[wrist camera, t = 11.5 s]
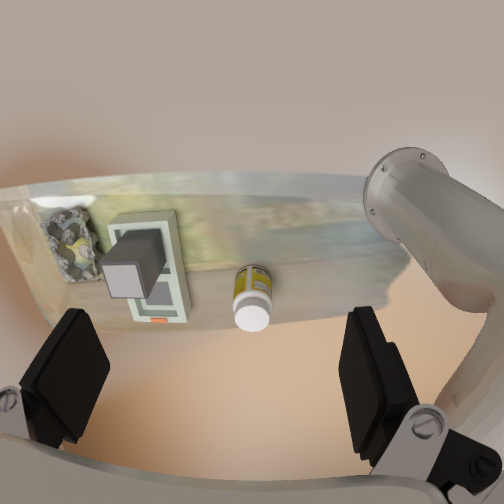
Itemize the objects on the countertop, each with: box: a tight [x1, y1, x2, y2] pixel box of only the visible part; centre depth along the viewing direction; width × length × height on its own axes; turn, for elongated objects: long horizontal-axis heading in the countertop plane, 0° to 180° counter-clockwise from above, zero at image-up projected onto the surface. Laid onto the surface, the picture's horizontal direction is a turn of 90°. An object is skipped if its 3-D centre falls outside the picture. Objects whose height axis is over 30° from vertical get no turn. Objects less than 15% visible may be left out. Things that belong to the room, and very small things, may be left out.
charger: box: [100, 229, 166, 299], centre depth 35 cm, size 5×5×8 cm
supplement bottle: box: [233, 265, 272, 332], centre depth 39 cm, size 5×5×8 cm
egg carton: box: [40, 206, 105, 282], centre depth 39 cm, size 11×8×4 cm
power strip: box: [107, 210, 192, 323], centre depth 40 cm, size 15×8×4 cm, turn 3°
